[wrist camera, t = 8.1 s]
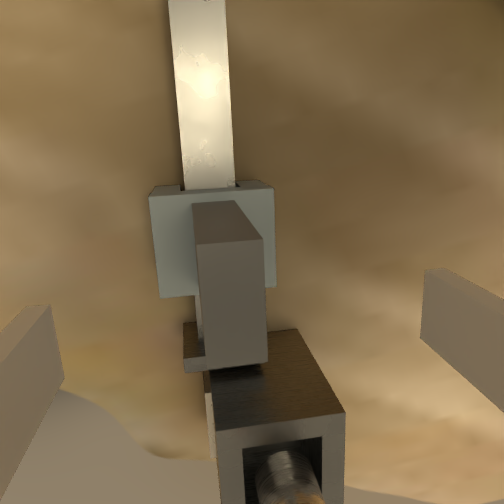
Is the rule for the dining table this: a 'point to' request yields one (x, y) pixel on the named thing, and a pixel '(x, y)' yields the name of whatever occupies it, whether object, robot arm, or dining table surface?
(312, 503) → the plunger
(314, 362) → the grey square housing
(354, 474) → the dining table surface
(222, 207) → the carriage
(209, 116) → the rail
